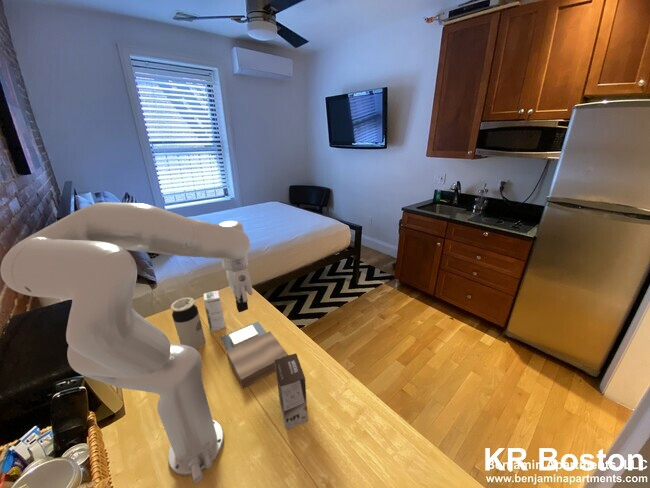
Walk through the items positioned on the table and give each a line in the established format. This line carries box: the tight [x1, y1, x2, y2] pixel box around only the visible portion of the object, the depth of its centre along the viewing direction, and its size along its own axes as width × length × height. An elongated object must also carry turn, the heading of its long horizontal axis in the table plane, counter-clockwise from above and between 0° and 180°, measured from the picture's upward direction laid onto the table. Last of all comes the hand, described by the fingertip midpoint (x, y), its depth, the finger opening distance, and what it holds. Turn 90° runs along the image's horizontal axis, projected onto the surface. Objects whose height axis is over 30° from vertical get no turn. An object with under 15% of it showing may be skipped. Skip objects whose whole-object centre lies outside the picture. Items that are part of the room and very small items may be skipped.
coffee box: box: [275, 353, 309, 430], centre depth 73 cm, size 9×6×16 cm
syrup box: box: [203, 290, 226, 332], centre depth 106 cm, size 6×6×14 cm
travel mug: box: [170, 297, 206, 351], centre depth 97 cm, size 8×8×18 cm
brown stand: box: [226, 330, 289, 390], centre depth 91 cm, size 14×16×4 cm
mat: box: [220, 321, 267, 351], centre depth 102 cm, size 12×15×1 cm
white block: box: [229, 325, 259, 347], centre depth 101 cm, size 6×9×2 cm, turn 126°
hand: (242, 309), depth 91 cm, fingers closed
